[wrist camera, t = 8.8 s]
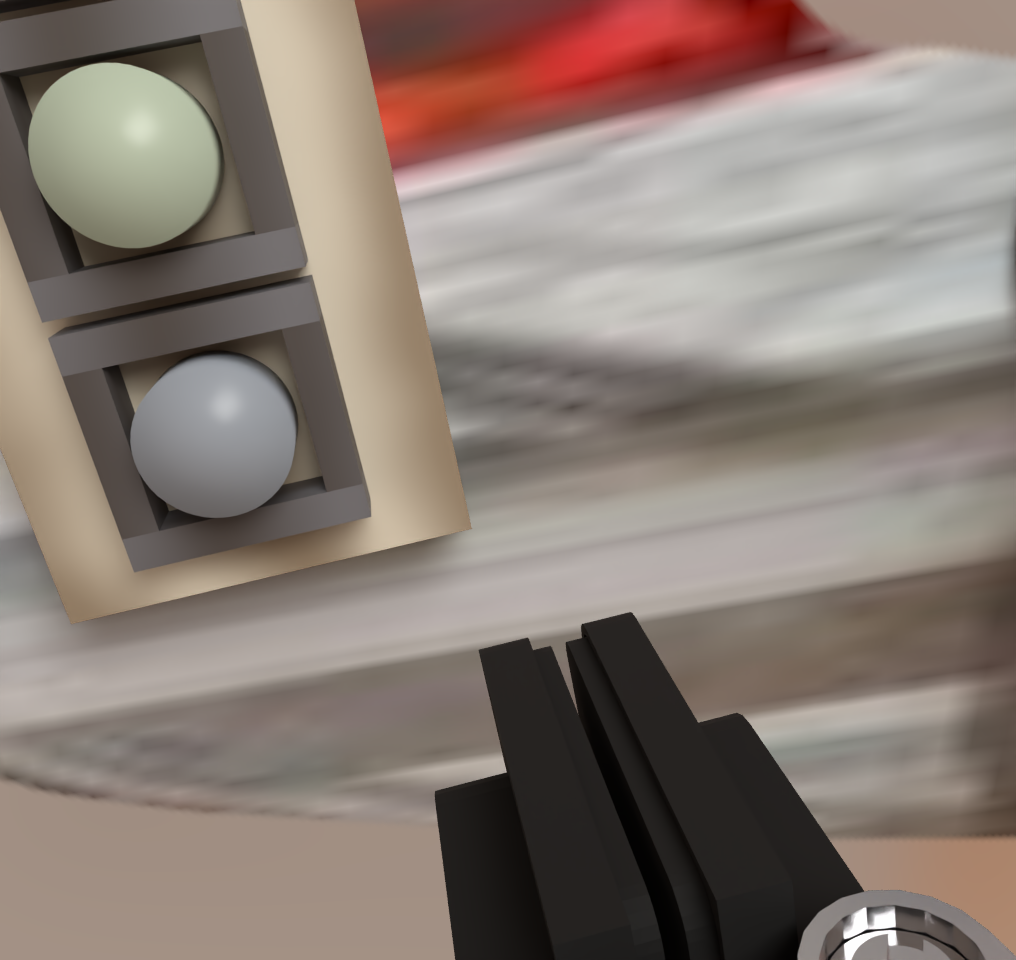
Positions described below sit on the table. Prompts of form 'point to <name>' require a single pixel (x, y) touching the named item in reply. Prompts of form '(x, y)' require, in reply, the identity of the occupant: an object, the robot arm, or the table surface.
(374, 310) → the button board
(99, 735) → the table surface
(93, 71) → the button sage
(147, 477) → the button slate
